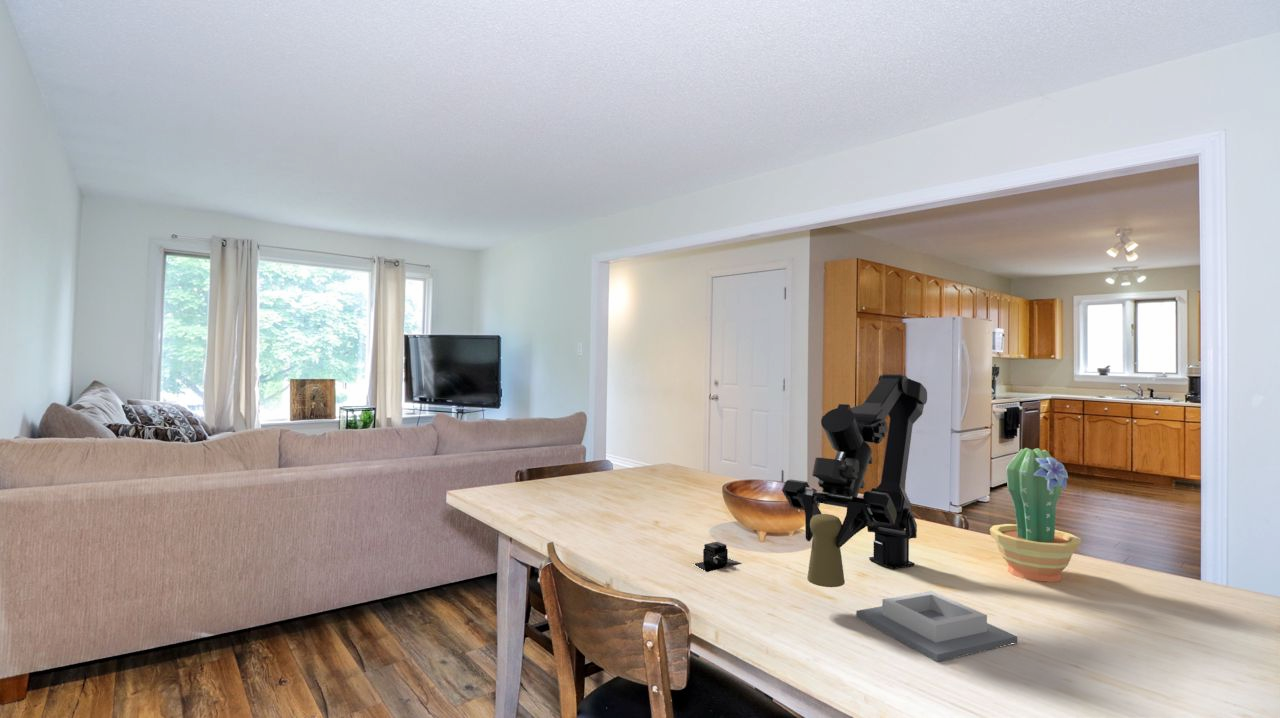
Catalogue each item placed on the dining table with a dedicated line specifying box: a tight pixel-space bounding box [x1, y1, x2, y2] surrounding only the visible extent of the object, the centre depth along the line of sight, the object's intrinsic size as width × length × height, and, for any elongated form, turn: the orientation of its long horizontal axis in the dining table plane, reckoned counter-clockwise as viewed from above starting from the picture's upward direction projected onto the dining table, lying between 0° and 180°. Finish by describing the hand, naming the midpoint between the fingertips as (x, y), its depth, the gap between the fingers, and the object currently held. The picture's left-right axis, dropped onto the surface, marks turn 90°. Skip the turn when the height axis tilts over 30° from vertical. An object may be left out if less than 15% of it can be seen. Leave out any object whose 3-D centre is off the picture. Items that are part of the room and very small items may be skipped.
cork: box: [807, 513, 846, 588], centre depth 101 cm, size 6×6×11 cm
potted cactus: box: [989, 447, 1082, 583], centre depth 120 cm, size 15×15×25 cm
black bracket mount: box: [695, 541, 743, 573], centre depth 125 cm, size 12×7×5 cm, turn 124°
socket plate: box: [855, 590, 1018, 663], centre depth 94 cm, size 16×16×4 cm
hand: (822, 543), depth 100 cm, fingers closed on cork, 5 cm apart
